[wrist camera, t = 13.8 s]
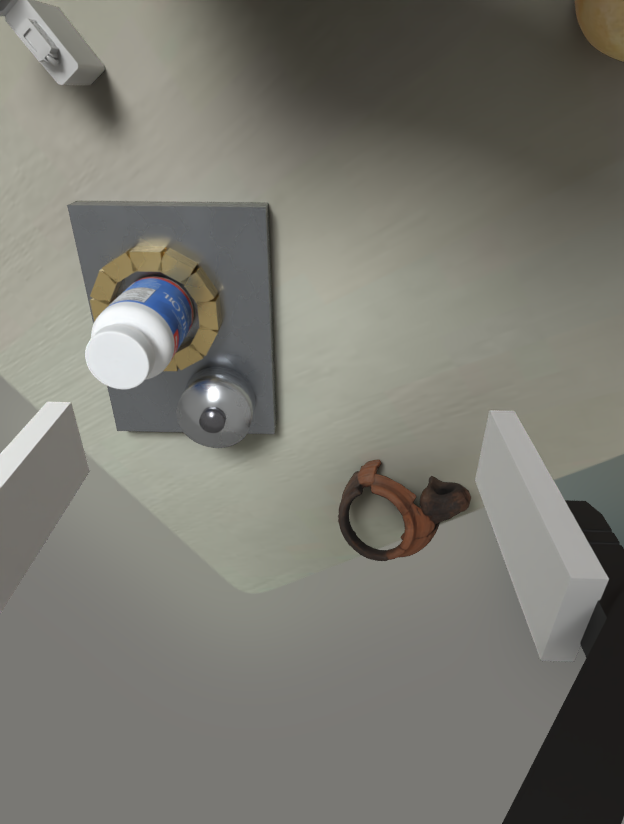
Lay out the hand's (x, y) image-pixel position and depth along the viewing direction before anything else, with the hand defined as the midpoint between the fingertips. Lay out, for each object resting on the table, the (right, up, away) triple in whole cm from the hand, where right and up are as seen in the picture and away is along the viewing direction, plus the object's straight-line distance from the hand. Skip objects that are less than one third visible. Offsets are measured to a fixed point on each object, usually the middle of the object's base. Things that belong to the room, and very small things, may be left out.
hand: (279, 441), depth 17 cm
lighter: (-15, +25, +17) cm, 34 cm away
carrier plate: (-9, +8, +27) cm, 29 cm away
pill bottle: (-11, +9, +24) cm, 28 cm away
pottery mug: (+10, -6, +35) cm, 37 cm away
